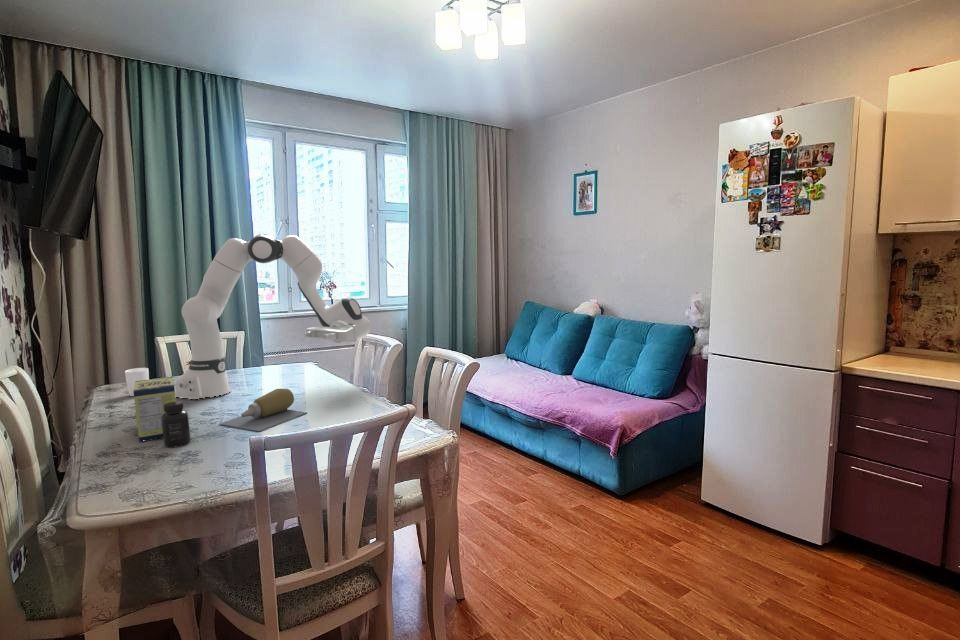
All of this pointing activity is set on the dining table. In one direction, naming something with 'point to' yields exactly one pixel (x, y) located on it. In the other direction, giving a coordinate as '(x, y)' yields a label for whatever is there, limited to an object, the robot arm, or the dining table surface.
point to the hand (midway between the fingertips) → (315, 336)
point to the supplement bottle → (175, 425)
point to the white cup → (135, 377)
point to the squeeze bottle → (270, 403)
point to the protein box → (152, 405)
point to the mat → (263, 420)
